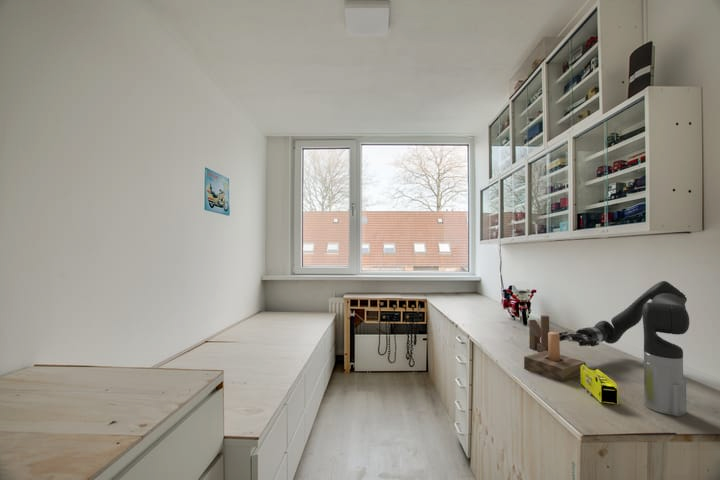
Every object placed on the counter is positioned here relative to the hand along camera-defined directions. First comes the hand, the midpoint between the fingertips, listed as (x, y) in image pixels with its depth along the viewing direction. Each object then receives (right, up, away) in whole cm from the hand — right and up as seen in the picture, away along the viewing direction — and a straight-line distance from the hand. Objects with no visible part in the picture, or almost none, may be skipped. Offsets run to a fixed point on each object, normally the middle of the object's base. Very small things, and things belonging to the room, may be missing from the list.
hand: (569, 340), depth 141 cm
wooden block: (-1, -12, +21) cm, 24 cm away
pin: (-10, -9, -6) cm, 15 cm away
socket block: (-10, -11, -6) cm, 16 cm away
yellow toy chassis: (-7, -11, -27) cm, 30 cm away
